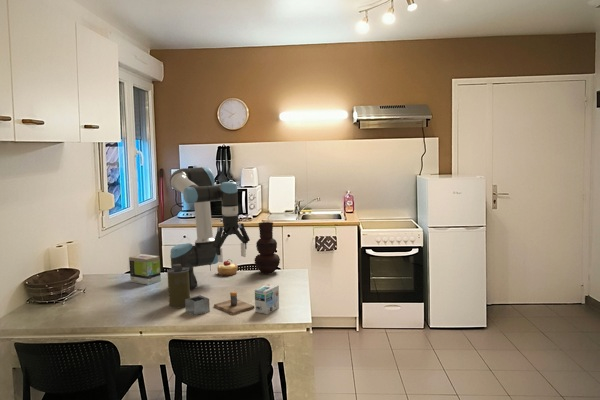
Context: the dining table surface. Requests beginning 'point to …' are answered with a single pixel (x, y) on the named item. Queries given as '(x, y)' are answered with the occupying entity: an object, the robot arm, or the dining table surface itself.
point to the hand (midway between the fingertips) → (232, 259)
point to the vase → (266, 249)
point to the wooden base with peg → (234, 305)
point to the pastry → (227, 268)
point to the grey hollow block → (197, 305)
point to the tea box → (145, 269)
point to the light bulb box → (266, 298)
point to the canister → (178, 285)
